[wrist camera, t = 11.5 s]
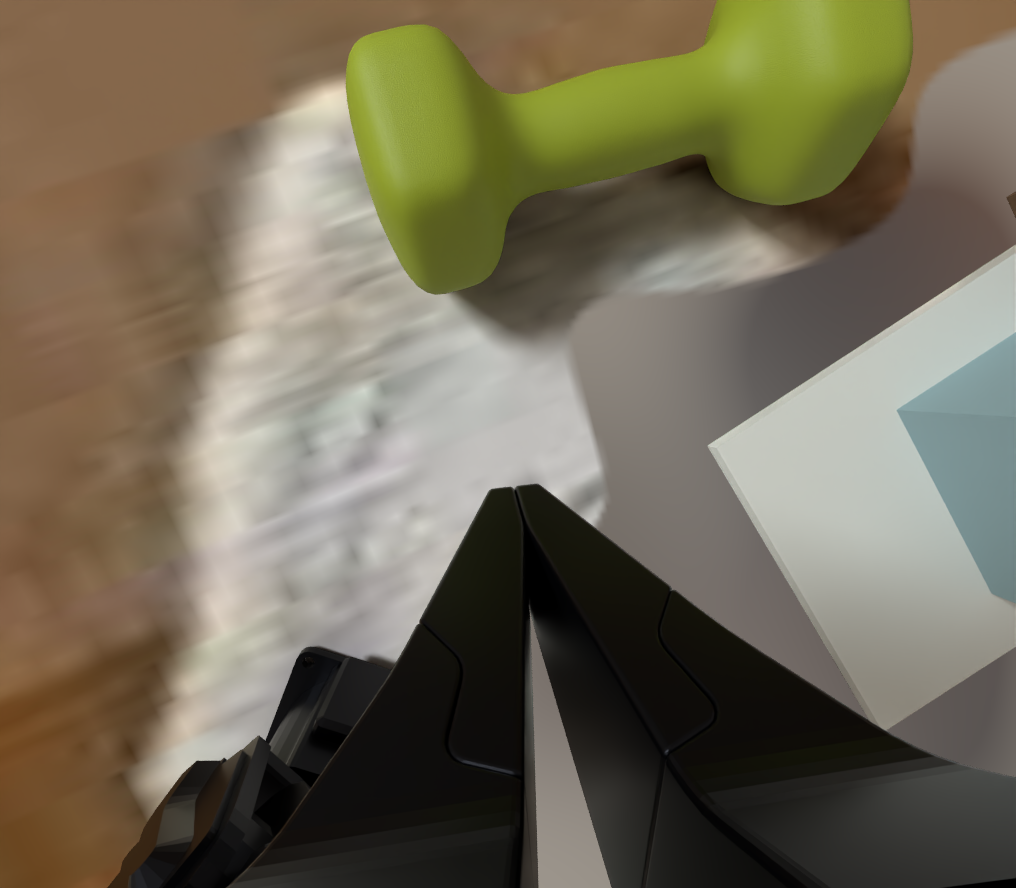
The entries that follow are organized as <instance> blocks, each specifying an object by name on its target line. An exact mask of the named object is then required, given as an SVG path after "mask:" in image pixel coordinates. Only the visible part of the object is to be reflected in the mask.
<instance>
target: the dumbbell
mask: <svg viewBox="0 0 1016 888" xmlns="http://www.w3.org/2000/svg"><path fill="white" fill-rule="evenodd" d="M912 54H913V33H912V21H911V12H910V4H909V0H717V3H716V6H715V8H714V11H713V15H712V18H711V21H710V25H709V28H708V32H707V36H706V39H705V43H704V46H702V47H701V48H700V49H698V50H696V51H693V52H691V53H687V54H683V55H678V56H672V57H666V58H659V59H653V60H648V61H642V62H636V63H630V64H624V65H618V66H613V67H608V68H604V69H600V70H597V71H593V72H590V73H587V74H584V75H581V76H578V77H575V78H571V79H568V80H565V81H562V82H559V83H556V84H553V85H550V86H548V87H545V88H542V89H539V90H536V91H532V92H528V93H524V94H507V93H503V92H500V91H498V90H495V89H494V88H493V87H491V86H490V85H488V84H487V83H486V82H485V81H484V80H483V79H482V78H481V77H480V76H479V75H478V74H477V72H476V71H475V70H474V68H473V67H472V66H471V64H470V63H469V62H468V60H467V59H466V57H465V56H464V54H463V53H462V52H461V51H460V50H459V48H458V47H457V46H456V45H455V44H454V43H453V41H452V40H451V39H450V38H449V37H448V36H446V35H445V34H444V33H443V32H441V31H440V30H439V29H438V28H435V27H431V26H428V25H408V26H402V27H397V28H392V29H388V30H384V31H380V32H376V33H372V34H369V35H367V36H364V37H362V38H361V39H360V40H358V41H357V42H356V43H355V44H354V46H353V48H352V50H351V52H350V54H349V58H348V63H347V70H346V92H347V102H348V108H349V114H350V119H351V124H352V129H353V133H354V137H355V141H356V145H357V149H358V153H359V156H360V160H361V164H362V167H363V171H364V175H365V178H366V181H367V185H368V188H369V191H370V194H371V197H372V200H373V203H374V205H375V208H376V211H377V214H378V216H379V219H380V222H381V224H382V226H383V229H384V231H385V233H386V235H387V237H388V239H389V241H390V243H391V245H392V247H393V249H394V251H395V253H396V255H397V257H398V259H399V261H400V263H401V265H402V266H403V268H404V270H405V271H406V272H407V274H408V275H409V277H410V278H411V279H412V280H413V281H414V283H415V284H416V285H417V286H418V287H419V288H421V289H423V290H424V291H426V292H428V293H432V294H435V295H436V294H446V293H450V292H454V291H458V290H462V289H465V288H468V287H472V286H474V285H476V284H479V283H481V282H483V281H484V280H485V279H486V278H488V277H489V276H490V275H491V274H492V273H493V271H494V269H495V268H496V266H497V264H498V262H499V259H500V256H501V253H502V250H503V244H504V238H505V231H506V226H507V223H508V220H509V217H510V215H511V213H512V212H513V210H514V209H515V208H516V206H517V205H518V204H519V203H520V202H522V201H523V200H525V199H526V198H528V197H529V196H532V195H535V194H538V193H542V192H546V191H552V190H558V189H564V188H570V187H574V186H579V185H583V184H588V183H592V182H597V181H601V180H606V179H610V178H614V177H618V176H622V175H626V174H629V173H633V172H636V171H639V170H643V169H646V168H650V167H654V166H657V165H660V164H664V163H667V162H670V161H673V160H675V159H678V158H681V157H684V156H688V155H692V154H702V155H704V156H705V159H706V162H707V165H708V168H709V170H710V172H711V174H712V176H713V179H714V180H715V182H716V183H717V184H718V185H719V186H720V187H721V188H722V189H724V190H725V191H727V192H728V193H730V194H732V195H734V196H737V197H739V198H742V199H745V200H749V201H753V202H758V203H763V204H769V205H789V204H794V203H799V202H803V201H807V200H810V199H814V198H817V197H821V196H824V195H826V194H828V193H830V192H831V191H833V190H834V189H835V188H836V187H837V186H839V185H840V184H841V183H842V182H843V181H844V180H845V179H846V177H847V176H848V175H849V174H850V173H851V171H852V170H853V169H854V167H855V166H856V164H857V163H858V162H859V160H860V159H861V157H862V156H863V154H864V153H865V151H866V150H867V148H868V147H869V145H870V144H871V142H872V141H873V139H874V138H875V136H876V134H877V133H878V131H879V130H880V128H881V127H882V125H883V124H884V122H885V120H886V119H887V117H888V115H889V114H890V112H891V110H892V109H893V107H894V105H895V103H896V102H897V100H898V98H899V96H900V94H901V92H902V90H903V88H904V86H905V83H906V80H907V77H908V75H909V72H910V66H911V60H912Z"/></svg>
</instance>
